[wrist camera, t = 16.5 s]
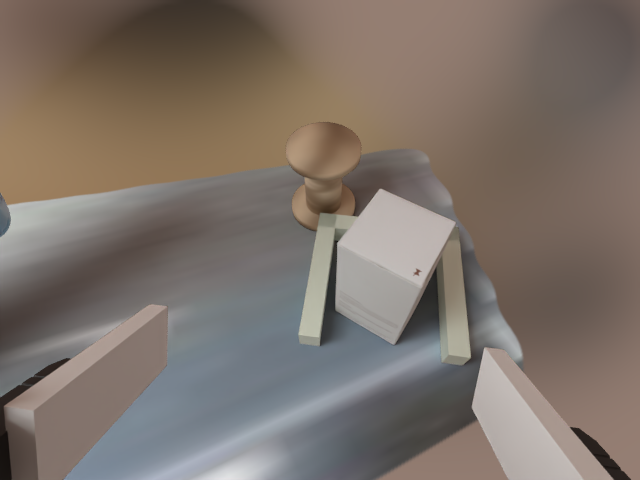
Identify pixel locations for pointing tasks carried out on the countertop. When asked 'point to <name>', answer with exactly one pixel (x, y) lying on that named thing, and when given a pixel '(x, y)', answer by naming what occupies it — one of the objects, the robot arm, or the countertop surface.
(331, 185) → the bobbin
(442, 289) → the u-shaped bracket
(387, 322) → the supplement box
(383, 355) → the countertop surface
